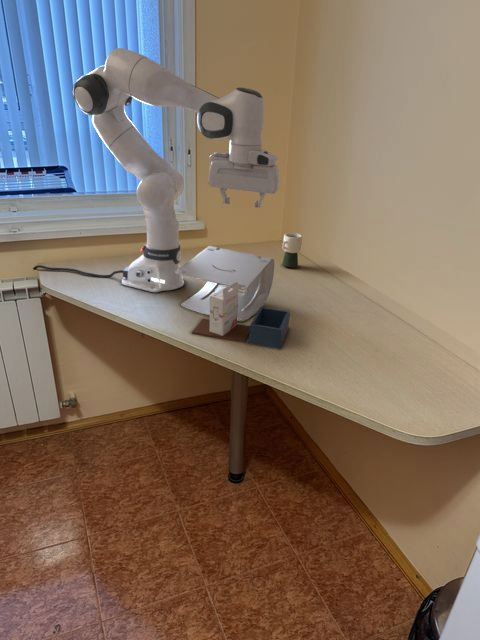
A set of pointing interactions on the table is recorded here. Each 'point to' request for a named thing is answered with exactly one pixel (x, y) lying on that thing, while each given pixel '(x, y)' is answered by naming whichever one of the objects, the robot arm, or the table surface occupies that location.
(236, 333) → the cork mat
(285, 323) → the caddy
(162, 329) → the table surface
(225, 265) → the laptop stand
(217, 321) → the ink cartridge box
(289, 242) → the character mug
